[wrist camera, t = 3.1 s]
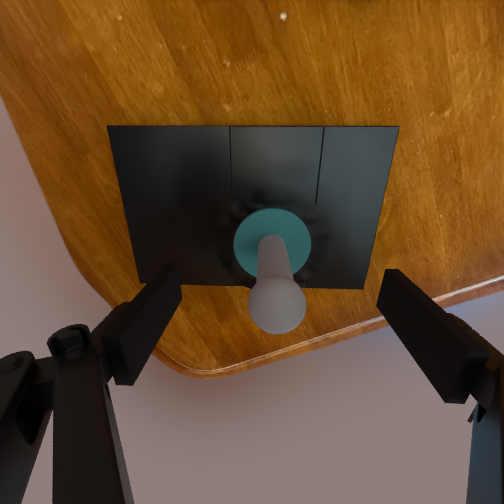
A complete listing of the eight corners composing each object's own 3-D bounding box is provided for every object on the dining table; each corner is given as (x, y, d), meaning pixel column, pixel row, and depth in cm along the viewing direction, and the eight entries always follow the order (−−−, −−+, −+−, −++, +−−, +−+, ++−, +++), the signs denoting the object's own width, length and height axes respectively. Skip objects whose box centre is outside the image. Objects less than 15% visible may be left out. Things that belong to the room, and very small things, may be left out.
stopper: (237, 266, 25) (214, 369, 13) (235, 201, 22) (205, 259, 11) (302, 268, 25) (337, 374, 13) (309, 202, 22) (360, 262, 10)
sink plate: (149, 279, 26) (140, 288, 24) (120, 127, 20) (106, 125, 18) (355, 284, 25) (362, 295, 23) (387, 128, 19) (400, 125, 17)
